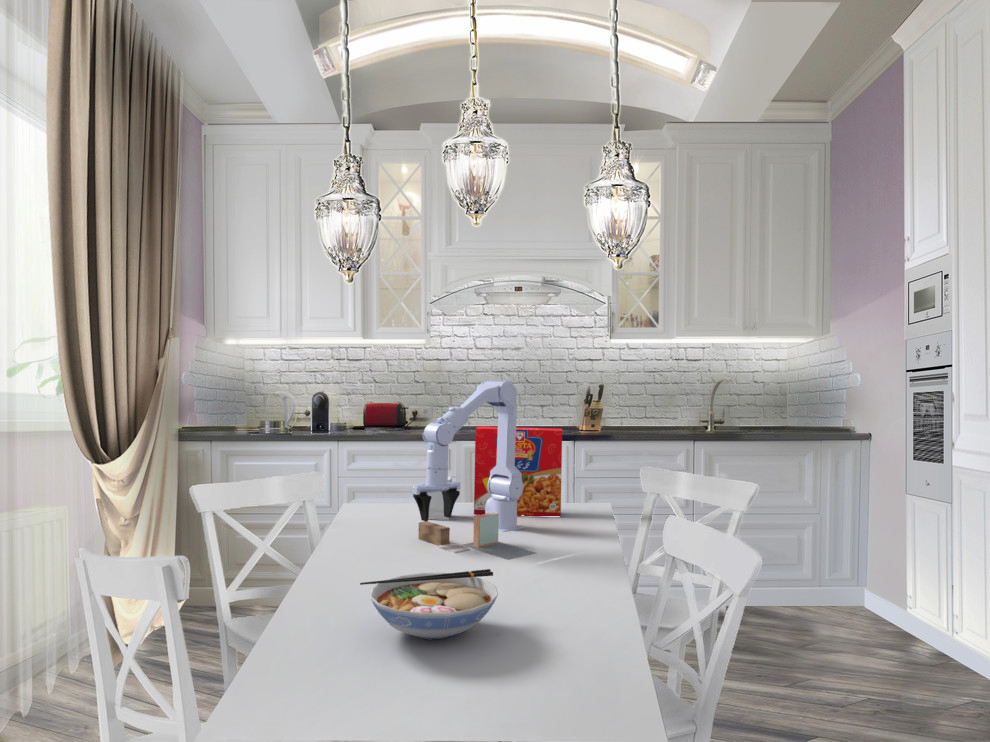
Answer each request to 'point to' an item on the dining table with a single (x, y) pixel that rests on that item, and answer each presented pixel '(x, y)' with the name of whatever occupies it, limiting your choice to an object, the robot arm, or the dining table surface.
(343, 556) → the dining table surface
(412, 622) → the ramen bowl
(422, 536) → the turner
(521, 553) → the mat
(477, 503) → the pasta box
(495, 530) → the tile
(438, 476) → the robot arm
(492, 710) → the dining table surface
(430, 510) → the supplement box
